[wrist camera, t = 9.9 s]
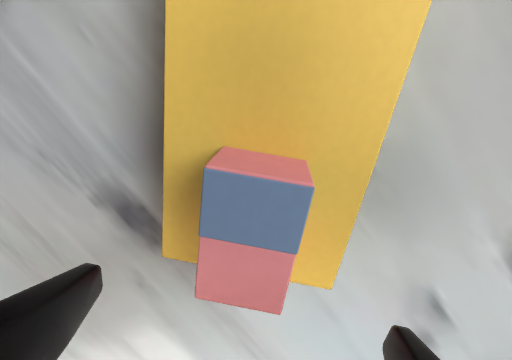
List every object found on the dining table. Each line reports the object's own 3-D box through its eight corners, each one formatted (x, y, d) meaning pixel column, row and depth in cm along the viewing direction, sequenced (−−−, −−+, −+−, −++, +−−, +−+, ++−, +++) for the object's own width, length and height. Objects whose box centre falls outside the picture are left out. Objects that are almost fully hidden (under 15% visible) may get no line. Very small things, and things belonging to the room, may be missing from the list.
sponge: (322, 252, 17) (331, 290, 14) (183, 226, 18) (161, 257, 15) (409, -30, 11) (458, -73, 8) (197, -60, 12) (165, -112, 9)
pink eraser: (281, 269, 14) (281, 316, 11) (211, 255, 14) (192, 299, 11) (308, 160, 12) (316, 185, 9) (222, 145, 12) (203, 164, 9)
